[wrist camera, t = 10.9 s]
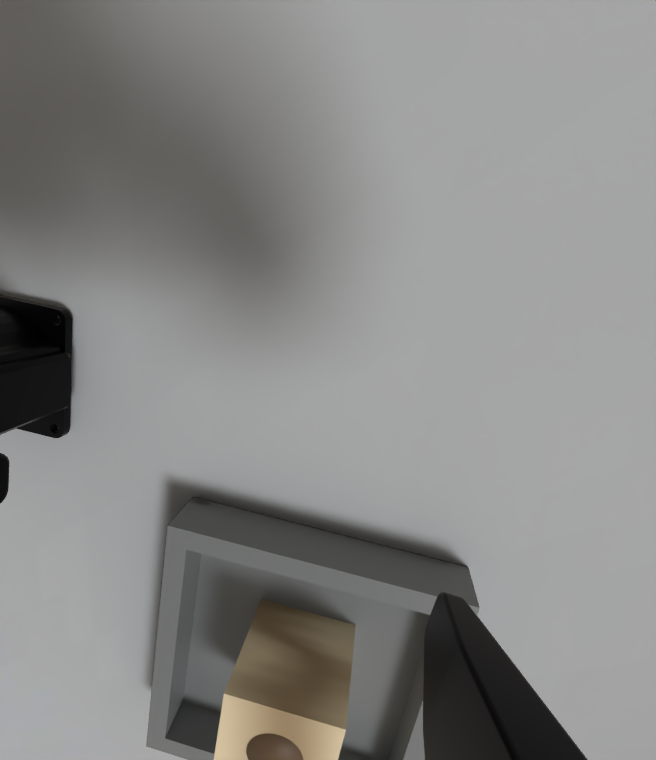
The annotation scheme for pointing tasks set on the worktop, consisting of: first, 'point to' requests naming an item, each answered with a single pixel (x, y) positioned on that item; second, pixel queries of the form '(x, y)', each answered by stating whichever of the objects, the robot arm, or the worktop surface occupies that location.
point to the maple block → (288, 688)
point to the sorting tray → (300, 591)
